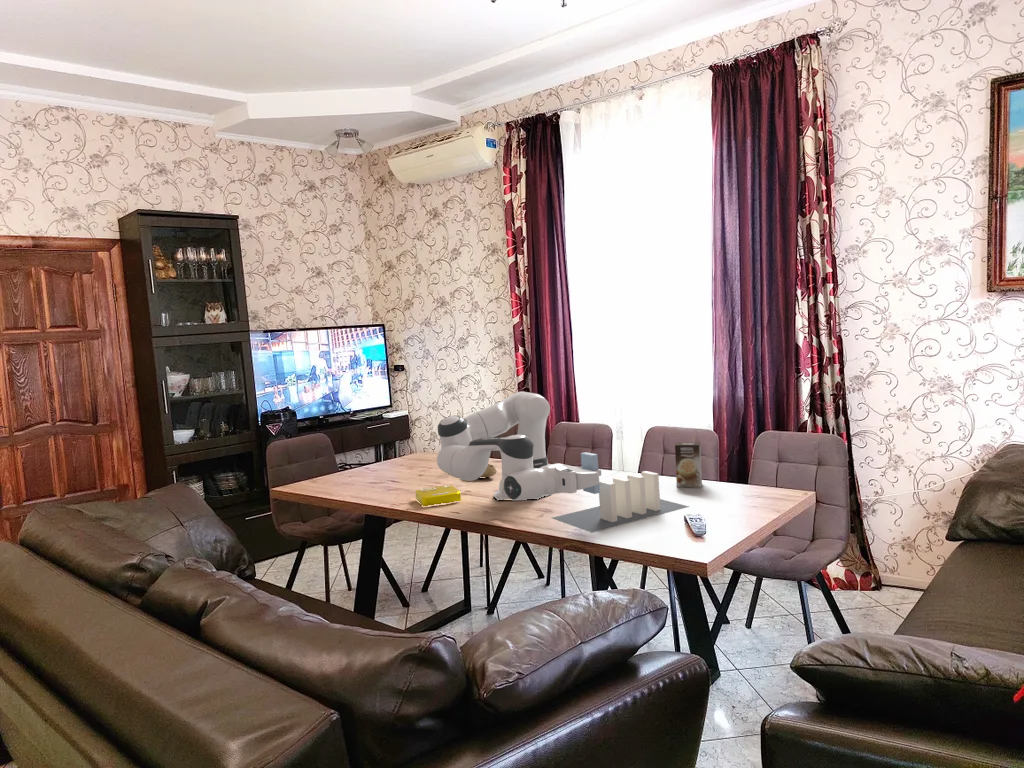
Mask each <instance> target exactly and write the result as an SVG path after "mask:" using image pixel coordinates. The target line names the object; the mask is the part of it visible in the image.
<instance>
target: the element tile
mask: <svg viewBox="0 0 1024 768" xmlns="http://www.w3.org/2000/svg"><path fill="white" fill-rule="evenodd" d="M414 493H415V500H416V499H417V500H418V501H419V502H420V503H421V505H423V506H428V505H434V504H441V503H449V502H454V501H460V500H461V501H462V493H461V491H460V490H459V489H457V487H455V486H453V485H451V484H450V485H442V486H436V487H435V486H434V487H428V488H427V487H426V488H421V489H416V490H415V492H414Z"/></svg>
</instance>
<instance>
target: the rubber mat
mask: <svg viewBox="0 0 1024 768" xmlns="http://www.w3.org/2000/svg"><path fill="white" fill-rule="evenodd" d="M686 508H690V505H684V504H681V503H677V502H674V501H673V502H672V501H670V500H667V499H666V500H665V499H661V498H660V510H657V511H655V510H651V509H647V508H646V514H638V513H635V512H632V517H631V518H625V517H621V516H618V515H617V521H615V522H610V521H607V520H604V519H601V517H600V505H598V506H595V507H590V508H587V509H582V510H579V511H575V512H569V513H565V514H562V515H557V516H554V517H551V519H553V520H555V521H558V522H561V523H564V524H566V525H569V526H572V527H575V528H577V529H580V530H584V531H585V532H589V533H591V534H592V533H595V532H600V531H603V530H606V529H608V530H609V529H611V528H614V527H618V526H622V525H626V524H630V523H633V522H637V521H640V520H644V519H649V518H653V517H655V516H656V517H657V516H660V515H664V514H667V513H671V512H675V511H678V510H683V509H686Z"/></svg>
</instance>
